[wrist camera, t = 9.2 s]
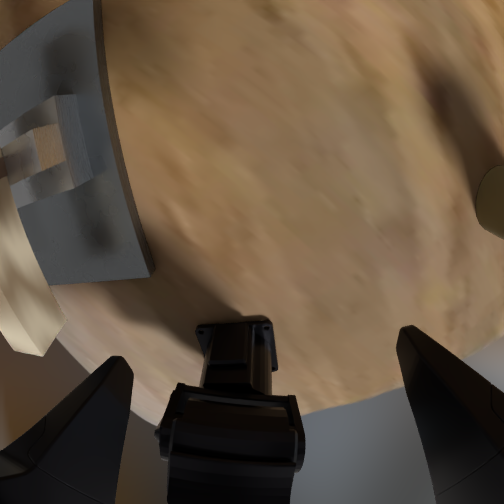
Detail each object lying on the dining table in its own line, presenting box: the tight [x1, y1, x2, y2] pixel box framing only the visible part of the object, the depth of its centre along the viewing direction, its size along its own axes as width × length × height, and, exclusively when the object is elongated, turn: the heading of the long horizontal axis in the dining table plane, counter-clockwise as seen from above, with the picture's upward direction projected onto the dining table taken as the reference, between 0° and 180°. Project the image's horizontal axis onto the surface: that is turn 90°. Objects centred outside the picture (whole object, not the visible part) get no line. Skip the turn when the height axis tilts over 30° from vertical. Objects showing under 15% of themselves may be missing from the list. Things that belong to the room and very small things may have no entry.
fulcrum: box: [0, 0, 155, 285], centre depth 14 cm, size 22×14×6 cm, turn 8°
